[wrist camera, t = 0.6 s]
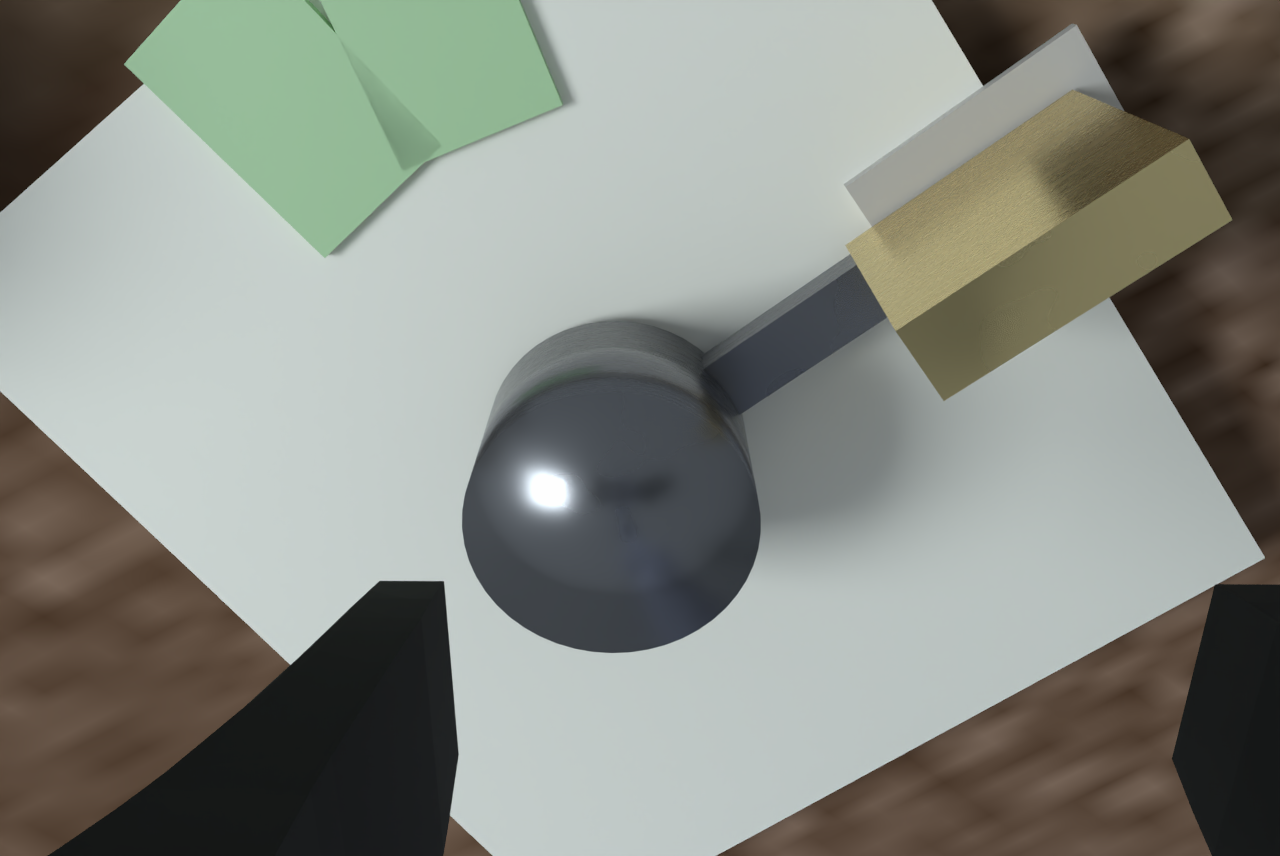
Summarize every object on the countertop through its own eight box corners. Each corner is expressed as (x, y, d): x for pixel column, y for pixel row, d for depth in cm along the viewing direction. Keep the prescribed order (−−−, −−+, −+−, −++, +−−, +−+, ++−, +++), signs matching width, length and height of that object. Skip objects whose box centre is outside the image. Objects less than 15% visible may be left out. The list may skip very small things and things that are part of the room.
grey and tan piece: (593, 594, 21) (581, 741, 17) (435, 417, 19) (385, 536, 16) (1156, 236, 18) (1286, 321, 14) (1020, -3, 16) (1126, 22, 13)
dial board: (1308, 484, 21) (1351, 520, 20) (577, 889, 26) (573, 940, 24) (752, -506, 15) (761, -546, 14) (-83, 252, 20) (-134, 275, 18)
